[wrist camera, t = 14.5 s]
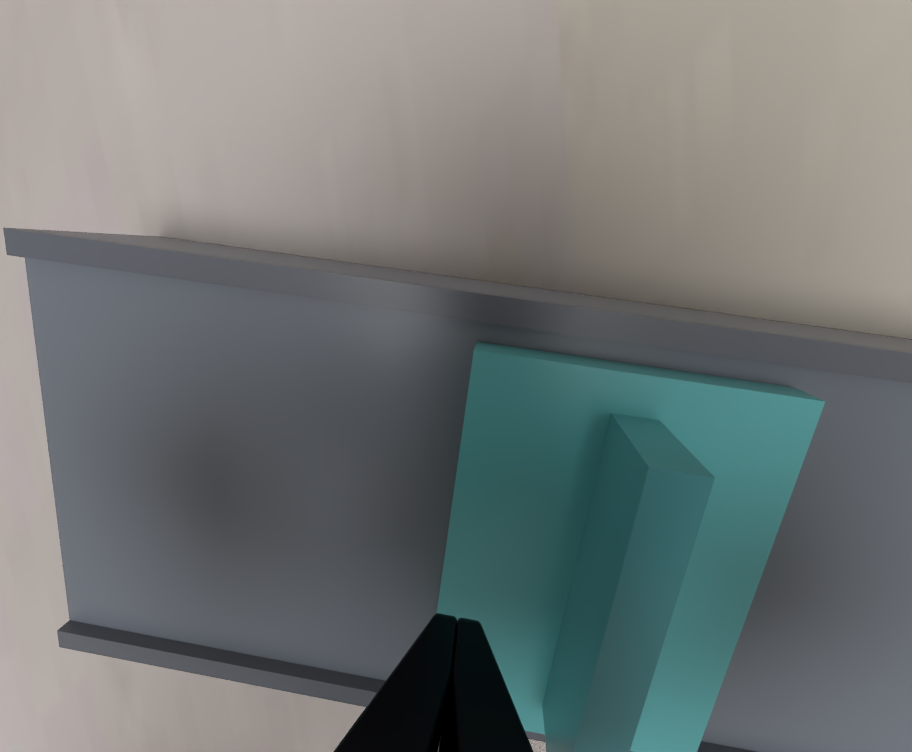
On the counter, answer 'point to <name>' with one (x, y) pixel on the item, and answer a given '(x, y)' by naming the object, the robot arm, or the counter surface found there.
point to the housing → (419, 472)
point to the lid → (616, 536)
